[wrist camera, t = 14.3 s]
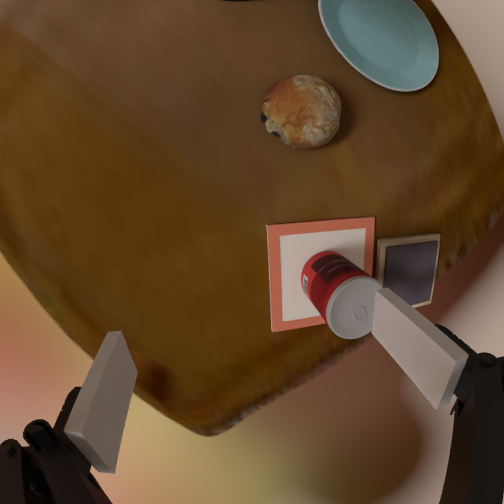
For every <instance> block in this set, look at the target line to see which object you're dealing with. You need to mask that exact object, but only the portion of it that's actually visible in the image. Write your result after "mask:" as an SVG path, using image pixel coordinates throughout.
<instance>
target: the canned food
mask: <svg viewBox="0 0 504 504" xmlns="http://www.w3.org/2000/svg"><path fill="white" fill-rule="evenodd" d="M301 284H302V288H303V291H304V293H305V294H306V296H307V297H308V298H309V300H310V301H311V302H312V304H313V305H314V307H315V308H316V309H317V311H318V312H319V313H320V315H321V316H322V318H323V319H324V320H325V322H326V323H327V325H328V326H329V327H330V328H331V330H332V331H333V332H334V333H335V334H337V335H338V336H340V337H342V338H346V339H355V338H359V337H362V336H364V335H366V334H368V333H369V332H370V331H372V324H373V315H374V305H375V293H376V290H378V289H383V287H382V285H381V284H380V283H379V282H378V281H377V280H376V279H374V278H373V277H372V276H370V275H369V274H368V273H366V272H365V271H363V270H362V269H361V268H359V267H358V266H356V265H355V264H354V263H352V262H351V261H349V260H348V259H346V258H345V257H344V256H342V255H341V254H339V253H336V252H332V251H323V252H320V253H317V254H315V255H313V256H312V257H311V258H310V259H309V260H308V261H307V262H306V264H305V265H304V267H303V270H302V274H301Z"/></svg>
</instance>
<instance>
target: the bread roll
mask: <svg viewBox="0 0 504 504" xmlns="http://www.w3.org/2000/svg"><path fill="white" fill-rule="evenodd" d="M340 116H341V99H340V97H339V95H338V93H337V91H336V90H335V89H334V88H333V86H332V85H330V84H329V83H327V82H326V81H325V80H324V79H321V78H320V77H318V76H315V75H311V74H300V75H293V76H289V77H287V78H284V79H282V80H280V81H279V82H277V83H276V84H275V85H274V86H272V87H271V88H270V89H268V91H267V92H266V95H265V98H264V101H263V105H262V114H261V116H260V119H261V121H262V122H263V123H265V125H266V129H267V131H269V133H272V134H273V135H275V136H278V137H280V139H281V140H282V141H283V142H284V143H285V144H287V145H289V146H291V147H292V148H296V149H302V150H308V149H312V148H318V147H321V146H323V145H326V144H327V143H329V142H330V140H331V139H332V138H333V136H334V135H335V134H336V132H337V131H338V129H339V124H340V120H339V119H340ZM282 125H283V126H282Z"/></svg>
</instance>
